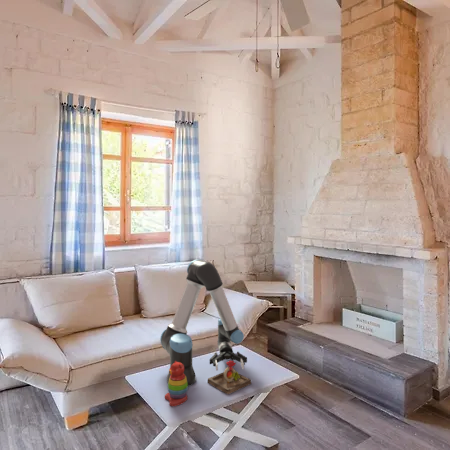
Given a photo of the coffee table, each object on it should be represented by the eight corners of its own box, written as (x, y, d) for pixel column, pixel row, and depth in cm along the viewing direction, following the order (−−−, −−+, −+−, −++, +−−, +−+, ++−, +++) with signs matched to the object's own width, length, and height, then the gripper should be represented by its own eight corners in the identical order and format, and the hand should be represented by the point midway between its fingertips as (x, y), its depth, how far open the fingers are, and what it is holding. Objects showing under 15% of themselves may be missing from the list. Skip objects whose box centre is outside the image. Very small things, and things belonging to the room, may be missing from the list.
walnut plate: (207, 382, 190) (207, 378, 190) (230, 373, 200) (230, 369, 200) (228, 394, 178) (228, 390, 178) (251, 383, 188) (251, 379, 188)
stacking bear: (163, 396, 176) (163, 360, 175) (183, 391, 181) (182, 356, 180) (171, 407, 167) (170, 369, 166) (191, 401, 171) (191, 365, 170)
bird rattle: (232, 388, 185) (243, 376, 191) (226, 372, 182) (237, 359, 187) (223, 384, 190) (234, 372, 195) (217, 368, 186) (228, 356, 192)
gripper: (247, 356, 210) (253, 373, 189) (204, 358, 207) (205, 375, 186) (247, 343, 209) (253, 358, 188) (204, 345, 207) (205, 361, 186)
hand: (230, 367), depth 187 cm, fingers open, 13 cm apart
